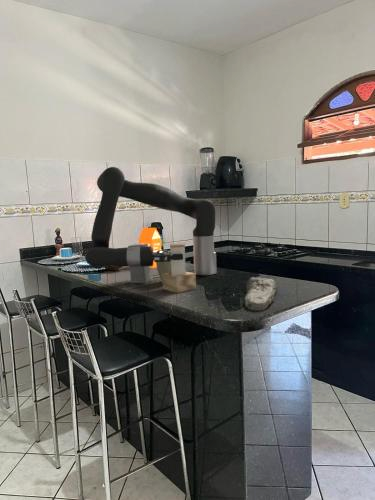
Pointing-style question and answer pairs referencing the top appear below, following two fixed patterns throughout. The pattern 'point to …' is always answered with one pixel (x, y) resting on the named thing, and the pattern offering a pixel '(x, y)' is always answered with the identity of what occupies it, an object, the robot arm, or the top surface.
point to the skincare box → (140, 270)
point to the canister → (178, 265)
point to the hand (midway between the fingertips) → (183, 255)
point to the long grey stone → (260, 293)
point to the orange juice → (151, 240)
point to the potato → (111, 267)
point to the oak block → (179, 282)
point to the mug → (163, 268)
